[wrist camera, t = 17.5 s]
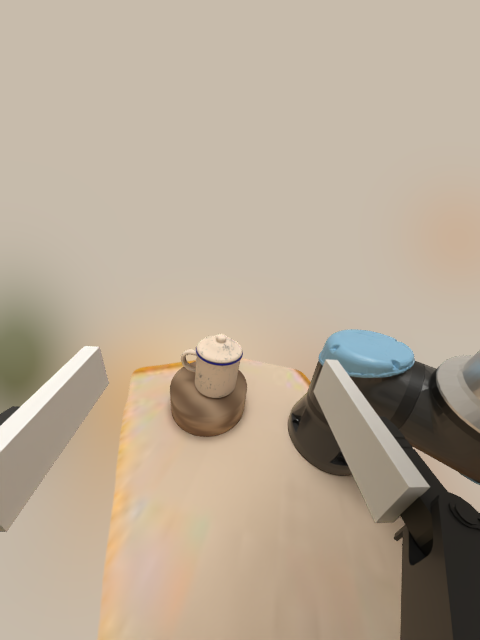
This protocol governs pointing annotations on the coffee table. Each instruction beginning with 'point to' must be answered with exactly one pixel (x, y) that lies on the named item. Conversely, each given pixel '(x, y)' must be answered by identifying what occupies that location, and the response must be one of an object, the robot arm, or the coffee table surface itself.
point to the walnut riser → (205, 405)
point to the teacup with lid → (215, 365)
